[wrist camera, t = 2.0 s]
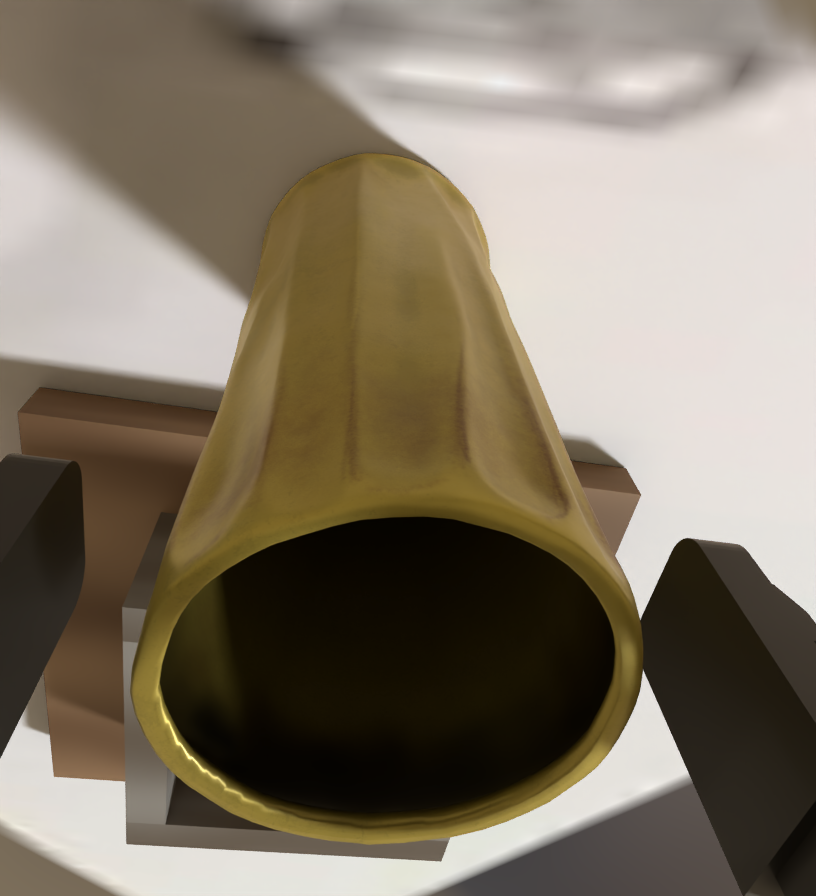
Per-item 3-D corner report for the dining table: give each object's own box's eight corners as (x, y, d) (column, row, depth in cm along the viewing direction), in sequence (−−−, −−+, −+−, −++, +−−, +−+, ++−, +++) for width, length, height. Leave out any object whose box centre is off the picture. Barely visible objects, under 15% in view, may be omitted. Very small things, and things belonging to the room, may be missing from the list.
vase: (213, 247, 19) (-63, 673, 7) (402, 97, 17) (492, 300, 5) (354, 410, 22) (341, 924, 9) (529, 294, 20) (784, 733, 8)
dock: (39, 387, 21) (-57, 497, 16) (625, 468, 23) (691, 583, 19) (67, 742, 29) (9, 885, 24) (501, 774, 31) (525, 909, 27)
